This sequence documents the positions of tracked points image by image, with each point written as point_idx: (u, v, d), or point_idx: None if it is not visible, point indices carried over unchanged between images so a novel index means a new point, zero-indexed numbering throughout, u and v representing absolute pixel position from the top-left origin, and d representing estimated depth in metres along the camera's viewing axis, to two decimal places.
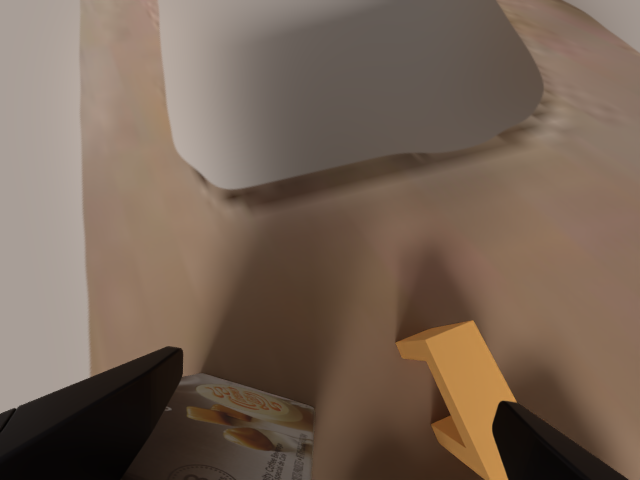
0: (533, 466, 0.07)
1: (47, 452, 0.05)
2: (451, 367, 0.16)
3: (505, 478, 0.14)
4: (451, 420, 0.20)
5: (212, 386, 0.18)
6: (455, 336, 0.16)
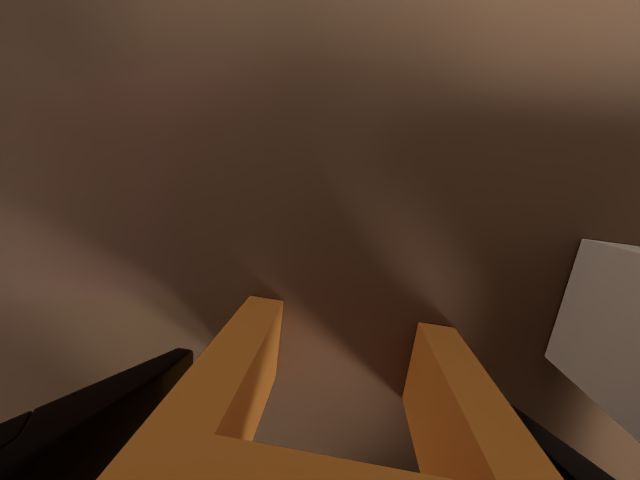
0: None
1: (64, 454, 0.05)
2: None
3: None
4: (414, 388, 0.09)
5: None
6: None
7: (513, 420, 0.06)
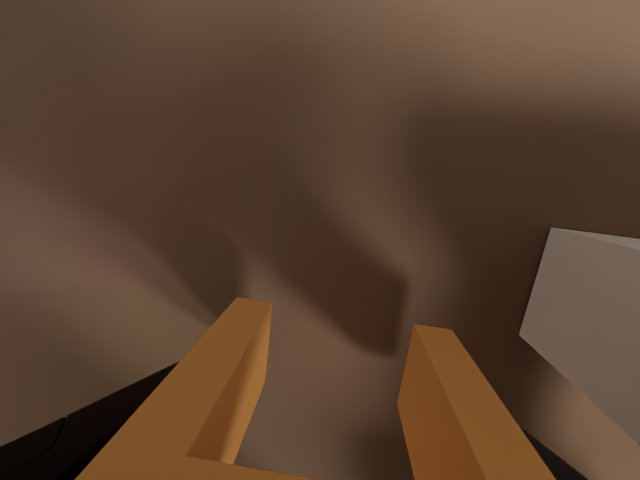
0: None
1: None
2: None
3: None
4: (409, 393, 0.09)
5: None
6: None
7: (515, 432, 0.06)
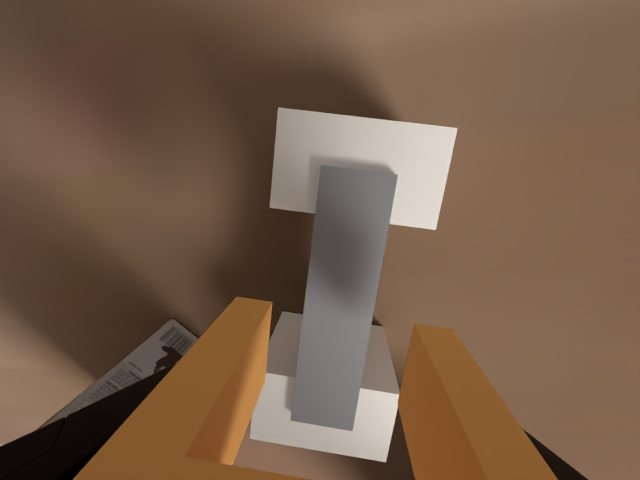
0: None
1: None
2: None
3: None
4: (410, 393, 0.09)
5: None
6: None
7: (517, 432, 0.06)
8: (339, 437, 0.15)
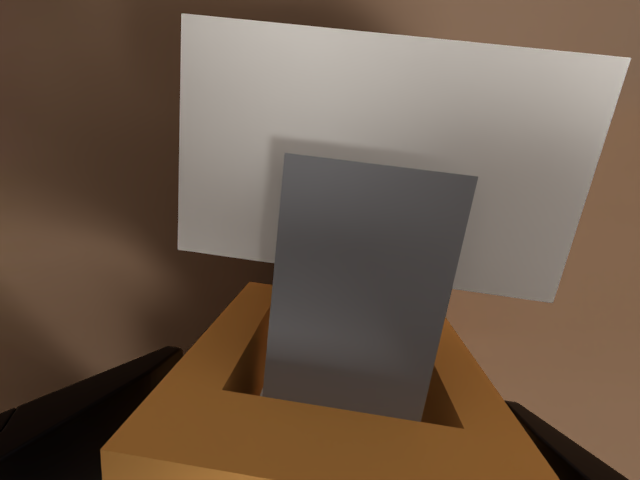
0: None
1: (47, 452, 0.05)
2: None
3: None
4: None
5: None
6: None
7: (483, 380, 0.07)
8: None
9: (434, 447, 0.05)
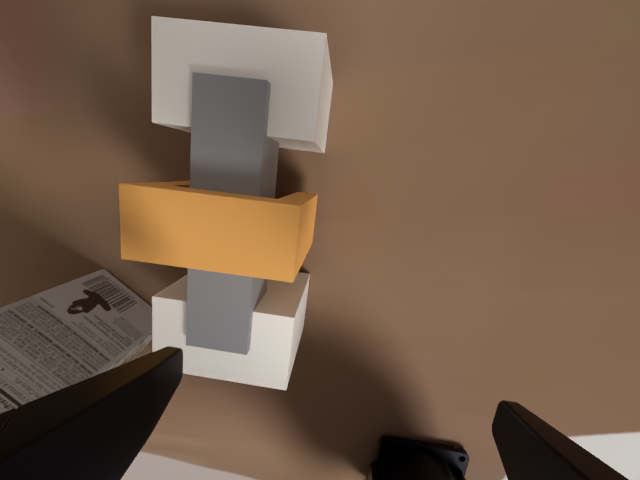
0: (533, 466, 0.07)
1: (47, 452, 0.05)
2: (162, 248, 0.12)
3: (295, 262, 0.12)
4: None
5: None
6: (130, 219, 0.12)
7: (306, 198, 0.14)
8: (238, 365, 0.15)
9: (257, 197, 0.12)
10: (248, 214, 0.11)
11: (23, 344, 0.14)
